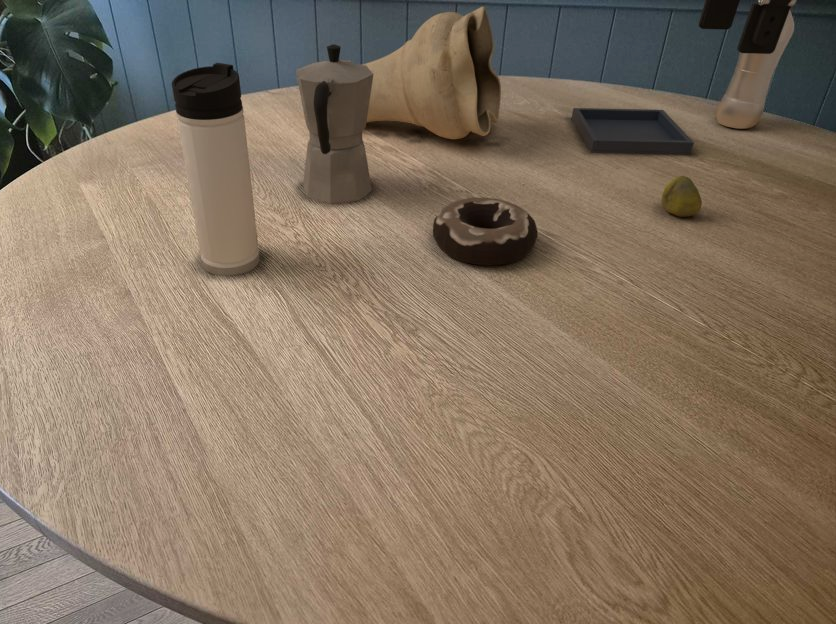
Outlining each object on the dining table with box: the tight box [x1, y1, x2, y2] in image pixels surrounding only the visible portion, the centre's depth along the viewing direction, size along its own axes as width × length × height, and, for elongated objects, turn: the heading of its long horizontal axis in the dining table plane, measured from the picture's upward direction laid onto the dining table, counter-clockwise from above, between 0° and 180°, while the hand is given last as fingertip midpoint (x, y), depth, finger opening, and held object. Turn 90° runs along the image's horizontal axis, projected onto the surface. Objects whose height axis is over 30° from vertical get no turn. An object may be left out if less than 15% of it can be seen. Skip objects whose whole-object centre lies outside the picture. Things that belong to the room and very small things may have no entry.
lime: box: [661, 175, 703, 218], centre depth 81 cm, size 4×5×5 cm
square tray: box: [570, 107, 695, 156], centre depth 103 cm, size 15×15×2 cm
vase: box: [362, 6, 502, 140], centre depth 101 cm, size 22×22×28 cm
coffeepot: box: [295, 43, 374, 205], centre depth 81 cm, size 15×9×18 cm, turn 171°
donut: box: [432, 197, 538, 267], centre depth 75 cm, size 12×12×4 cm
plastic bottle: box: [715, 10, 795, 130], centre depth 101 cm, size 6×7×20 cm
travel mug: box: [171, 62, 261, 277], centre depth 66 cm, size 6×7×20 cm
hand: (733, 39), depth 64 cm, fingers open, 9 cm apart
